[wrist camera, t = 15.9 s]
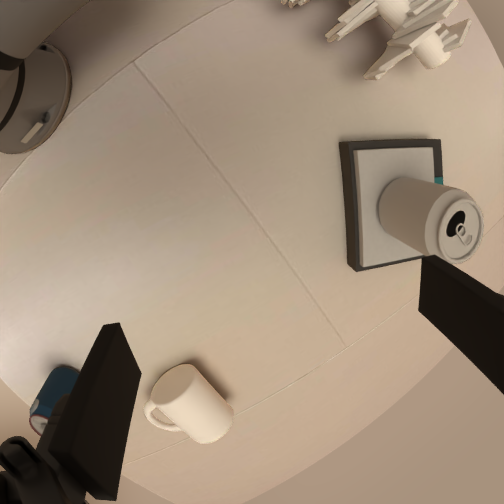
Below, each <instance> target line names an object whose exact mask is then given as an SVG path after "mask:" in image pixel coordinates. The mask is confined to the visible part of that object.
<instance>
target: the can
mask: <svg viewBox="0 0 504 504" xmlns="http://www.w3.org/2000/svg"><path fill="white" fill-rule="evenodd" d="M379 218H380V222H381V225H382V226H383V228H384V229H385V231H386V232H387V233H388V234H390V235H391V236H392V237H394V238H396V239H397V240H399V241H401V242H403V243H405V244H406V245H408V246H410V247H411V248H413V249H415V250H417V251H418V252H420V253H422V254H423V255H425V256H430V255H434V254H435V255H437V256H438V257H440V258H442V259H443V260H445V261H447V262H448V263H450V264H459V263H463V262H465V261H467V260H468V259H470V258H471V257H472V255H473V254H474V253H475V252H476V250H477V249H478V247H479V245H480V243H481V240H482V237H483V231H484V219H483V214H482V211H481V209H480V207H479V206H478V204H477V203H476V202H475V201H474V200H473V198H472V197H471V196H470V195H469V194H468V193H467V192H465V191H463V190H461V189H457V188H453V187H449V186H445V185H441V184H437V183H432V182H428V181H424V180H419V179H414V178H410V177H401V178H399V179H397V180H394V181H393V182H392V183H390V184H389V185H388V186H387V187H386V189H385V191H384V192H383V194H382V196H381V199H380V203H379Z"/></svg>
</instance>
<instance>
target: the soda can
mask: <svg viewBox="0 0 504 504" xmlns="http://www.w3.org/2000/svg"><path fill="white" fill-rule="evenodd" d="M78 376H79V373H78V372H77V371H75V370H74V369H72V368H69V367H60V368H56V369H54V370H53V371H52V372H51V373H50V375H49V377H48V378H47V380H46V382H45V383H44V385H43V387H42V388H41V390H40V392H39V394H38V395H37V397H36V399H35V401H34V403H33V404H32V406H31V408H30V418H29V422H30V425H31V427H32V429H33V430H34V431H35V432H36V433H37V434H38V435H40V436H41V435H42V433H43V431H44V428H45V426H46V424H47V421H48V419H49V417H50V416H51V412H52V410H53V408H54V406H55V404H56V402H57V401H58V400H59V399H60V398H61V397H62V396H63V395H64V394H71V391H72V389H73V387H74V385H75V382H76V380H77V378H78Z"/></svg>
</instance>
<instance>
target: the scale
mask: <svg viewBox="0 0 504 504" xmlns="http://www.w3.org/2000/svg"><path fill="white" fill-rule="evenodd" d="M339 147H340V157H341V167H342V178H343V190H344V203H345V219H346V237H347V263H348V265H349V266H350V267H351V268H352V269H353V270H354V271H356V272H359V271H364V270H369V269H373V268H378V267H383V266H388V265H393V264H397V263H402V262H407V261H411V260H416V259H421V258H423V257H426V256H425V255H423V254H422V253H420V252H418V251H417V250H415V249H413V248H411V247H410V246H408V245H406V244H405V243H403V242H401V241H399V240H397V239H396V238H394V237H392V236H391V235H390V234H388V233H387V232H386V231H385V229H384V228H383V226H382V225H381V222H380V218H379V203H380V199H381V196H382V194H383V192H384V191H385V189H386V187H387V186H388V185H389V184H390V183H392V182H393V181H394V180H397V179H399V178H401V177H410V178H414V179H419V180H424V181H428V182H432V183H437V184H441V185H443V171H442V151H441V140H440V139H395V140H369V141H350V142H339Z"/></svg>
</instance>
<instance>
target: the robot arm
mask: <svg viewBox="0 0 504 504" xmlns="http://www.w3.org/2000/svg"><path fill="white" fill-rule="evenodd" d="M89 1H90V0H0V152H2V153H7V154H17V153H24V152H28V151H30V150H32V149H34V148H36V147H38V146H39V145H41V144H42V143H43V142H44V141H46V140H47V139H48V138H49V137H50V135H51V134H52V133H53V132H54V130H55V129H56V128H57V126H58V125H59V123H60V121H61V119H62V118H63V115H64V113H65V111H66V108H67V105H68V102H69V98H70V93H71V72H70V67H69V64H68V62H67V60H66V58H65V56H64V55H63V54H62V53H61V52H60V51H59V50H58V49H56V48H55V47H53V46H51V45H49V44H47V43H44V42H43V41H44V40H45V39H46V38H47V37H48V36H49V35H50V34H51V33H52V32H53V31H54V30H55V29H57V28H58V27H59V26H60V25H61V24H62V23H63V22H64V21H66V20H67V19H68V18H69V17H70V16H71V15H73V14H74V13H75V12H76V11H77V10H79V9H80V8H81V7H82V6H84V5H85V4H86V3H87V2H89ZM418 311H419V312H420V313H421V314H422V315H424V316H425V317H426V318H427V319H428V320H429V321H430V322H431V323H432V324H433V325H434V326H435V327H436V328H437V329H438V330H440V331H441V332H442V333H443V334H444V335H445V336H446V337H447V338H448V339H449V340H450V341H451V342H452V343H453V344H454V345H455V346H456V347H457V348H458V349H459V350H460V351H461V352H462V353H463V354H464V355H465V356H466V357H468V359H469V360H470V361H472V362H473V363H474V365H475V366H477V368H478V369H479V370H480V371H481V372H482V373H484V375H485V376H486V377H487V378H488V379H489V380H490V381H491V382H492V383H493V384H494V385H495V386H496V387H497V388H498V389H499V390H500V391H501V392H502V393H503V394H504V296H503V295H501V294H498V293H495V292H494V291H492V290H491V289H489V288H488V287H486V286H485V285H483V284H482V283H480V282H479V281H477V280H476V279H474V278H472V277H471V276H469V275H468V274H466V273H465V272H463V271H461V270H460V269H458V268H457V267H455V266H453V265H452V264H450V263H448V262H447V261H445V260H443V259H442V258H440V257H438V256H437V255H435V254H434V255H430V256H426V257H423V258H422V264H421V283H420V297H419V308H418ZM141 374H142V373H141V371H140V369H139V367H138V365H137V362H136V360H135V358H134V356H133V354H132V351H131V349H130V347H129V344H128V342H127V340H126V337H125V335H124V333H123V330H122V328H121V325H120V323H113V324H106V325H103V327H102V329H101V330H100V332H99V334H98V336H97V338H96V340H95V342H94V344H93V346H92V348H91V351H90V353H89V355H88V357H87V359H86V361H85V363H84V365H83V367H82V369H81V371H80V374H79V376H78V378H77V380H76V382H75V385H74V387H73V389H72V391H71V394H64V395H63V396H62V397H61V398H60V399H59V400H58V401H57V402H56V404H55V406H54V408H53V410H52V412H51V416H50V417H49V419H48V421H47V424H46V426H45V428H44V431H43V433H42V435H41V438H40V440H39V443H38V445H37V448H36V450H35V449H34V448H33V447H32V445H31V444H30V443H29V442H28V441H27V440H26V439H25V438H23V437H21V436H14V437H11V438H9V439H7V440H6V441H4V442H3V443H2V444H1V446H0V465H1V466H2V467H3V468H4V469H5V470H6V471H1V472H0V504H89V503H88V502H87V501H86V500H85V495H86V491H87V492H88V493H89V494H91V495H92V496H93V497H94V498H95V499H98V500H109V501H116V499H117V493H118V487H119V480H120V475H121V469H122V463H123V458H124V453H125V447H126V442H127V437H128V432H129V427H130V422H131V418H132V413H133V409H134V404H135V400H136V395H137V391H138V387H139V382H140V378H141Z"/></svg>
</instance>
